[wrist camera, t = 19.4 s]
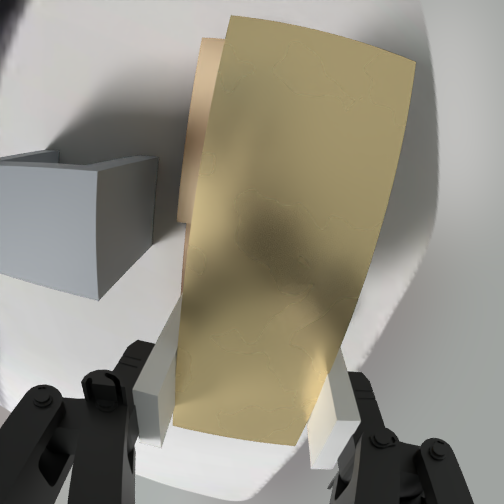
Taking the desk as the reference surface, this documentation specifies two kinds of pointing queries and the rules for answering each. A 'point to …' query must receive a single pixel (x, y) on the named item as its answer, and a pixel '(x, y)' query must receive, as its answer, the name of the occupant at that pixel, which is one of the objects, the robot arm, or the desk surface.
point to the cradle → (197, 131)
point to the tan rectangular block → (283, 223)
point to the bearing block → (74, 220)
